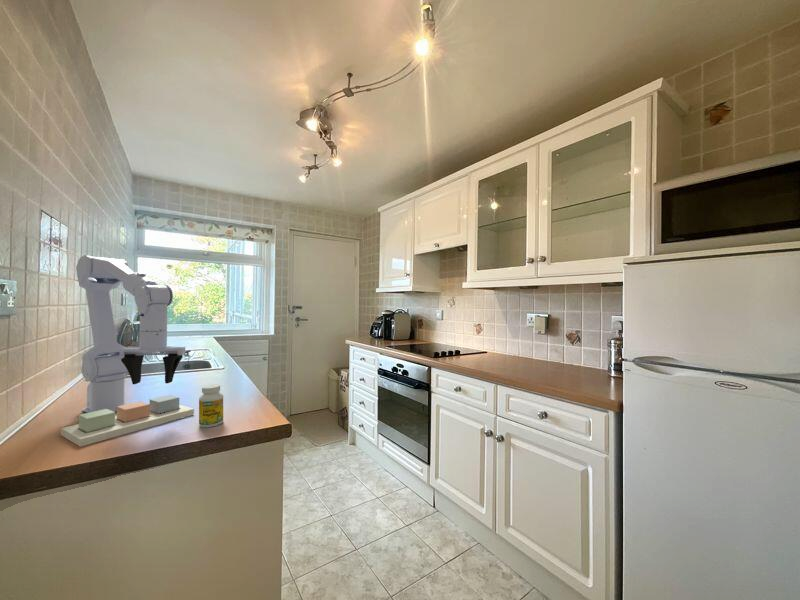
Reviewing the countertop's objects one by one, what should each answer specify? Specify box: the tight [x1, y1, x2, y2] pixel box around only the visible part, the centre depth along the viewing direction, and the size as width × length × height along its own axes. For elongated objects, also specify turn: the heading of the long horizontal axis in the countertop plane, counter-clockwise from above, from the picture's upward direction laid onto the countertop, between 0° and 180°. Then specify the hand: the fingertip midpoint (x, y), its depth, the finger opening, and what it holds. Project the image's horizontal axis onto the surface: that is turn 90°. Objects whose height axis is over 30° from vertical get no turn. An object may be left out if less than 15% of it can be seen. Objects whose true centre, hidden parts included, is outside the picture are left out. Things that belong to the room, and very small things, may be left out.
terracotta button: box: [116, 400, 150, 423], centre depth 82 cm, size 5×5×3 cm
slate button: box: [149, 394, 180, 415], centre depth 88 cm, size 5×5×3 cm
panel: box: [60, 403, 195, 448], centre depth 82 cm, size 12×23×2 cm, turn 150°
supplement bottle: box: [198, 384, 224, 428], centre depth 82 cm, size 5×5×10 cm
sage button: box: [78, 409, 116, 433], centre depth 76 cm, size 5×5×3 cm
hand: (152, 382), depth 84 cm, fingers open, 7 cm apart
